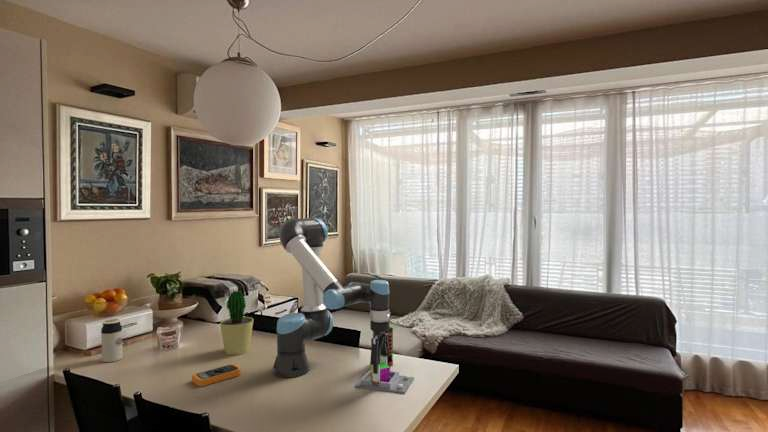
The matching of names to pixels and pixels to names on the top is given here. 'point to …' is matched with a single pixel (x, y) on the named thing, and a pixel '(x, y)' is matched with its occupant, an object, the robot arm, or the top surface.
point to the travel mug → (111, 340)
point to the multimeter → (216, 375)
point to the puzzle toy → (382, 373)
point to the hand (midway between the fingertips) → (380, 376)
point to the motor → (390, 341)
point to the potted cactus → (236, 326)
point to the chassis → (387, 383)
